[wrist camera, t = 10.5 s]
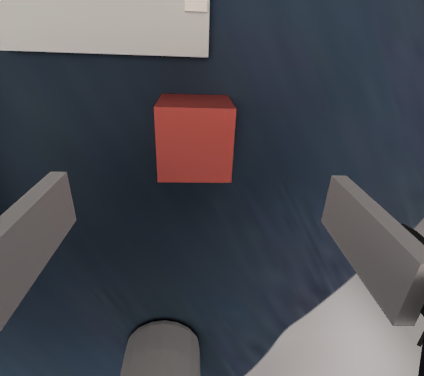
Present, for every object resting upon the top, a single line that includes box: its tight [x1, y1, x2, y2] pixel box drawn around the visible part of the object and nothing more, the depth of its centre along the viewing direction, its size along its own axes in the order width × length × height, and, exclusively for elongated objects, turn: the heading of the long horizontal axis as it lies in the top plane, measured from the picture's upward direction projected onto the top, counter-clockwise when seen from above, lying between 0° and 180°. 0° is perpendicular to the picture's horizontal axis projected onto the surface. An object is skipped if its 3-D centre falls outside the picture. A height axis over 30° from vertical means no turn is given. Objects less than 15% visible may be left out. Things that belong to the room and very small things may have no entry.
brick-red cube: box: [154, 93, 236, 183], centre depth 25 cm, size 6×6×6 cm
